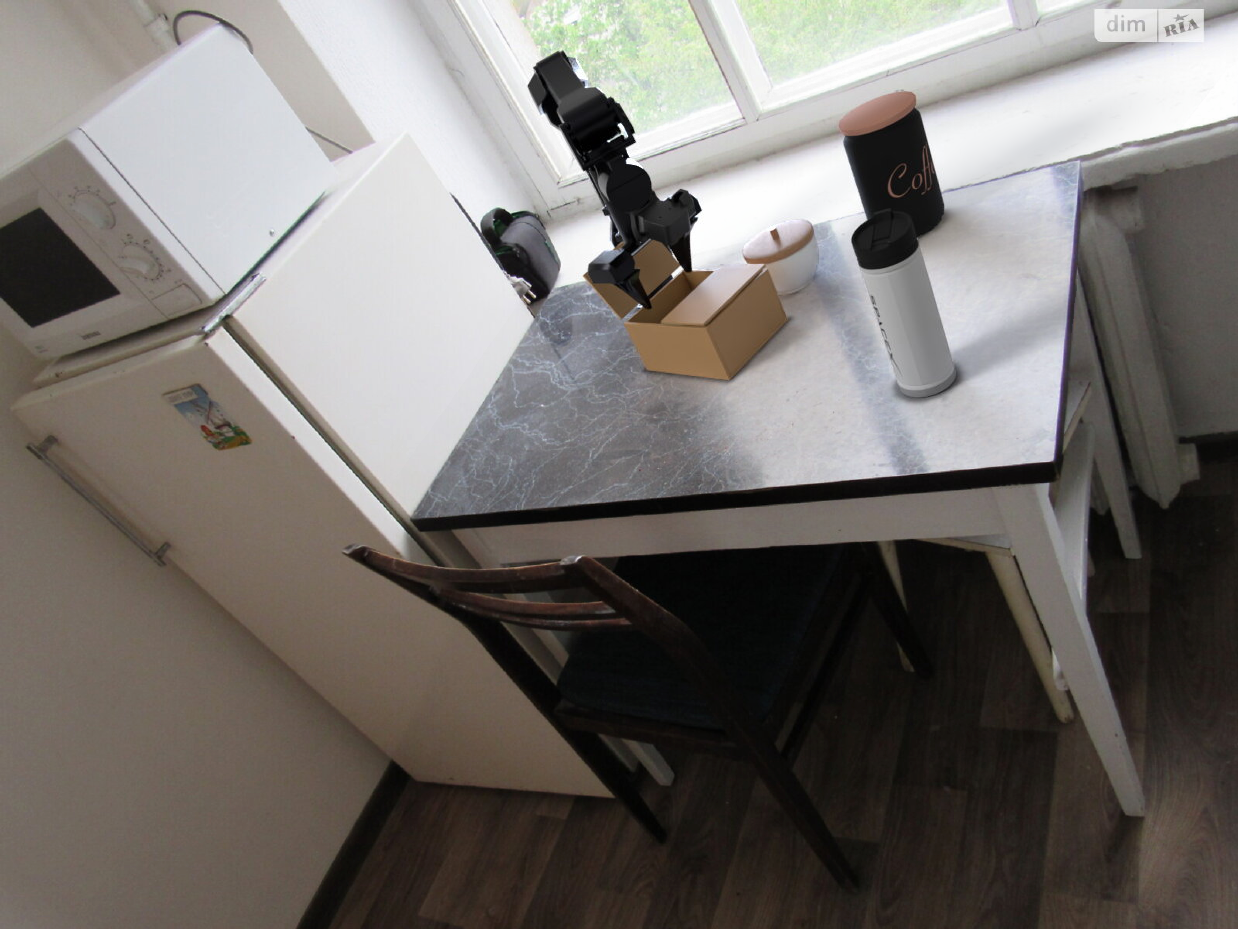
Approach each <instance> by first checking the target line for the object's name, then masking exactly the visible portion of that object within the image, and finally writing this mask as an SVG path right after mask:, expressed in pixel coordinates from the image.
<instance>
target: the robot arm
mask: <svg viewBox="0 0 1238 929" xmlns="http://www.w3.org/2000/svg"><path fill="white" fill-rule="evenodd" d="M532 69H533V72H534V73H533V75H532V77H531V78H530V80H529V81H528V84H527V86H526V87H527V90H528V92H529V94H530V97H531V99H532V101H533V103H534V105H535V106H536V110H537V111H538V113H539V115H540V116H541V117H543V116H545V117H546V120H547V122H548V123H549V124H550V125H551V127H552V128H553V127H554V128H555V129H556V130H558V131H559V132H560V134H562V137H563V138H564V141H565V143H566V145H567V147H568V148H569V150H570V151H571V153H572V156H573V157H574V159H575V160H576V162H577V165H578V166H579V167H580V169H581V171H582V172H585V174H586V176H587V178H588V181H589V182H590V184H591V186H592V188H593V190H594V192H595V193H596V195H597V198H598V200H599V202H600V204H601V206H602V208H601V211H602V214H603V215H604V217H608V219H609V242H610V245H611V246H612V248H613V249H614V248H615V247H617V246H618V245H619V244H620V243H621V242H624V243H625V245H624V246H623V247H622V248H620V249H619V250H613V249H611V250H610V249H608V250H603V251H602V252H601V253H600V254H599V255H598V256H596V257H595V258H594V259H593V260H592V261H590V263H588V265H587V271H588V274H589V276H590V278H591V280H592V282H593V284H613V285H615V286H616V287H618V288H619V289H621V290H622V291H624V292H625V293H626V294H628V295H629V296H630V297H631V298H633V299H634V300H635V301H636V302H638V303H639V304H638V305H637V306H636V308H637V309H638V310H639V309H640V308H641V307H642V306H643V307H644V308H645V309H651V308H652V305H651V302H650V299H651V298H652V297H653V296H654V295H655V294H656V293H658V292H659V291H660V290H661V289H662V288H663V287H664V286H665V285H666V284H667V283H668V282H670V281H671V280H672V279H673V278H674V276H673V275H672V274H673V273H672V274H671V275H670V276H669V277H668V278H667V279H665V280H664V281H663V282H662V283H661V284H660V285H659V286H658V287H657V288H656V289H654V290H653V291H652V292H651V293H650V294H649V295H647V293H646V291H645V289H644V287H643V285H642V283H641V281H640V279H639V274H640V269H634V268H635V260H634V258H633V256H634V255H636V254H637V253H638V252H639V251H640V250H641V249H642V248H644V247H645V246H646V245H647V244H648V243H649V242H650V241H652V240H655V241H658V242H661V243H662V244H663V245H664V246H665V247H666V248H667V250H668V251H669V252H670V253H671V254H672V256H673V257H674V258H675V259H676V260H677V261H678V263H679V264H680V267H681V268H682V270H684V271H685V272H686V273H690V272H692V270H693V264H692V250H691V232H692V231H693V229H694V225H695V224H696V223H697V222H698V220H699V216H698V215H699V214H700V213H701V212H702V211H703V208H702V205H701V203H700V201H699V199H698V197H696V196H695V195H694V194H692V193H690V192H689V190H687V189H683V188H679V189H678V190H677V191H676V192H674V193H673V194H671V195H668V196H667V197H666V198H665V199H663V200H661V199H660V198H659V197H658V195H657V194H656V191H655V190H654V189H653V185H652V184H653V183H652V179H651V176H650V174H649V172H648V171H646V169H645V168H643V166H641V165H640V164H639V163H638V162H637V161H635V159H634V158H632V157H631V155H630V152H629V151H628V149H627V148H629V147H631V146H632V145H634V144H636V143H637V140H636V138H635V136H634V134H636V131H635V128H634V125H633V124H632V122H631V120H630V118H629V117H628V116H627V114H626V112H625V110H624V108H623V107H622V105H621V104H620V102H618V101H616V100H615V98H614V97H612V96H609V97H607V96H606V94H605V93H604V91H602V90H601V88H599V87H597V86H591V87H589V81H588V78H587V76H586V75H585V72H584V70H583V69H582V67H581V64H580V63H579V61H578V60H577V58H576V57H573V56H572V57H571V56H568V55H567V54H566V52H565V50H561V51H559V50H556V51H555V52H553V53H552V54H549V55H548V56H546V57H544V58H543V59H541V60H538V61H537V62H536V63H535V65H534V66H532ZM622 132H623V133H622Z"/></svg>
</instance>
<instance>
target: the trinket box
mask: <svg viewBox="0 0 1238 929" xmlns="http://www.w3.org/2000/svg"><path fill="white" fill-rule="evenodd" d="M741 254H742V257H743V259H744V261H745V263H746V264H765V265H766V267H765V268H764V269H768V270H769V273H770V275H771V278H772V280H773V283H774V285H775V288H776V291H777V293H778V296H786V295H791V294H794V293H797V292H799V291H801V290H803V289H805V288H806V287H808V286H809V285H810V284H811V283H812V282H813V280H814V275H815V274H816V271H817V270H818V266H819V263H820V249H819V244H818V240H817V237H816V234H815V229H814V225H813V224H812V222H810V221H809V220H807V219H804V218H803V219H801V218H796V219H795V218H794V219H790V220H784V221H782V222H779V223H776V224H773V225H771V226H769V227H767V228H764V229H763V230H761V231H760V232H758V233H757V234H755V235H754V236H752V237H751V238H750V239H749V240H748V241H747V242H746V243H745V245H744V246H743V249H742V253H741Z"/></svg>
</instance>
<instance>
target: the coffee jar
mask: <svg viewBox="0 0 1238 929" xmlns="http://www.w3.org/2000/svg"><path fill="white" fill-rule="evenodd" d="M916 106H917V95H916V94H915V93H914V92H912V91H907V90H904V91H894V92H891V93H887V94H884V95H880V96H878V97H875V98H872V99H870V100H868V101H866V102H863V103H861V104H860V105H858V106H856V107H854V108H852V109H851V110H850V111H849V112H847V113H846V114H845V115H844V116H842V118H841V119H840V120H839V121H838V125H837V128H838V130H839V132H840V134H841V135H842V136H844V137H843V142H842V144H843V149H844V152H845V154H846V157H847V160H848V161H847V162H848V164H849V166H850V167H849V168H850V170H851V173H852V176H853V179H854V183H855V186H856V189H857V192H858V196H859V198H860V202H861V205H862V208H863V211H864V215H865V217H866V220H868V219H870V218H872V217H874V216H873V215H874V213H875V212H879V211H882V210H886V209H889V208H891V211H892V212H893V211H900V212H904V213H907V214H908V215H909V216H910V217H911V219H912V222H913V226H914V229H915V232H916V237H917V238H920V237H922V236H924V235H926V234H927V233H929V232H930V231H933V230H934V229H935V228H936V227H938V226H939V224H940V223H941V221H942V219H943V216H944V213H945V206H946V205H945V202H944V198H943V194H942V191H941V186H940V182H939V179H938V175H937V171H936V168H935V163H934V160H933V159H934V158H933V156H932V152H931V149H930V145H929V140H928V137H927V133H926V129H925V125H924V121H923V118H922V113H921V111H920V110H918V109H917V108H916Z"/></svg>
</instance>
